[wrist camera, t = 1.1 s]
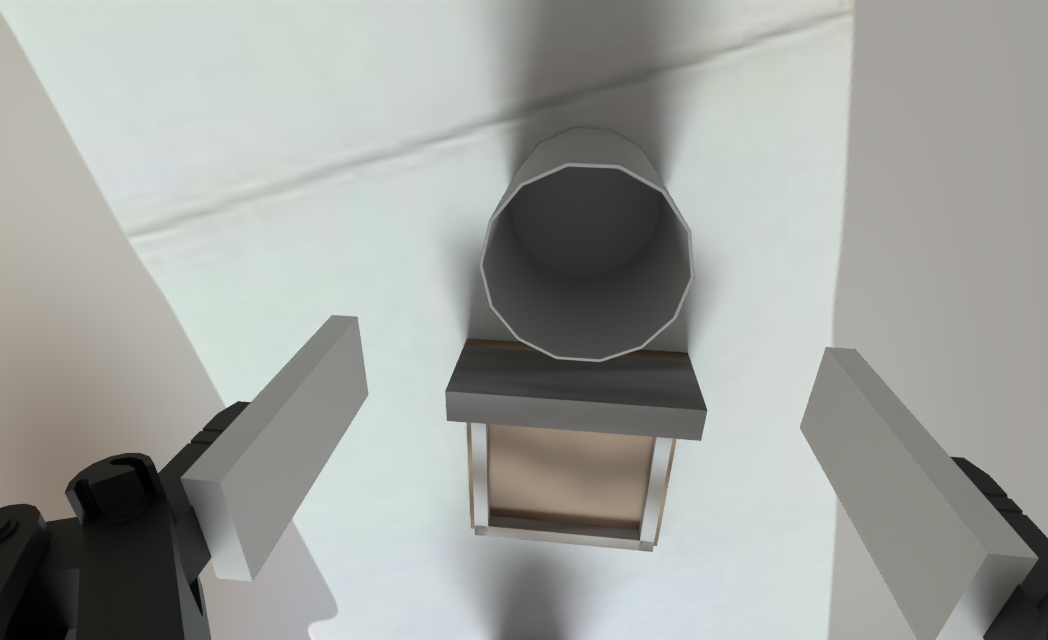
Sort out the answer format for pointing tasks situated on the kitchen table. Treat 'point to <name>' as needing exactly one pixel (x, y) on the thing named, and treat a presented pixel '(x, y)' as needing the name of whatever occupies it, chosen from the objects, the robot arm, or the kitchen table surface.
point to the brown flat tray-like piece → (572, 441)
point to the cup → (587, 249)
